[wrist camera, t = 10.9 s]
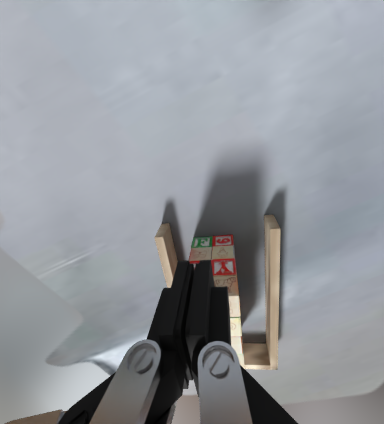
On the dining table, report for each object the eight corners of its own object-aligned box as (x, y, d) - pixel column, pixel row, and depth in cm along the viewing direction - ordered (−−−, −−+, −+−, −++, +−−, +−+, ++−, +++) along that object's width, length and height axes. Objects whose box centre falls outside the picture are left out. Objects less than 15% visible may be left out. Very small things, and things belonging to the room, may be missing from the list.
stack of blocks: (241, 328, 41) (249, 409, 30) (208, 328, 42) (204, 407, 31) (232, 233, 32) (239, 296, 21) (192, 236, 33) (178, 298, 22)
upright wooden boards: (273, 214, 30) (280, 228, 26) (272, 347, 42) (277, 369, 38) (161, 223, 33) (154, 237, 29) (190, 346, 44) (188, 366, 41)
